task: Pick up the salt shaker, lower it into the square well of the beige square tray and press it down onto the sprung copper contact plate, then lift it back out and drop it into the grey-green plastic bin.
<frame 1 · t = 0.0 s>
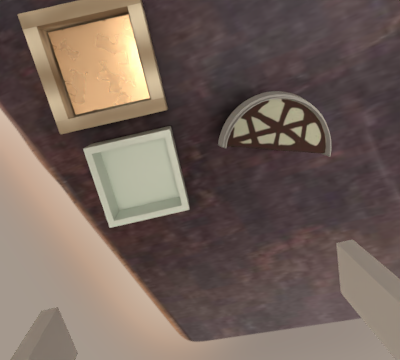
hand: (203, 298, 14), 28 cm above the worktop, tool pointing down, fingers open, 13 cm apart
beige square tray: (104, 67, 36), on the worktop
food container: (257, 115, 40), on the worktop
bin: (142, 172, 40), on the worktop
contact plate: (101, 66, 35), point 1 cm above the worktop, slide at 0.0 cm
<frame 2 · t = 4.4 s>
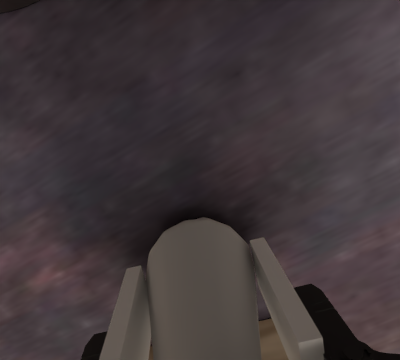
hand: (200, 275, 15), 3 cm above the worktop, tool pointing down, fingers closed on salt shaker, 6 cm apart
salt shaker: (197, 246, 18), on the worktop, touching gripper
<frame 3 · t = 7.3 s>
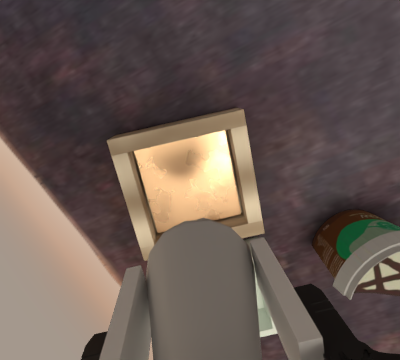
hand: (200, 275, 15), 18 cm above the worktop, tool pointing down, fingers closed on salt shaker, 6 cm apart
beige square tray: (189, 179, 32), on the worktop
food container: (352, 223, 36), on the worktop
salt shaker: (197, 246, 18), point 15 cm above the worktop, touching gripper
bin: (222, 283, 36), on the worktop
contact plate: (189, 183, 31), point 1 cm above the worktop, slide at 0.0 cm
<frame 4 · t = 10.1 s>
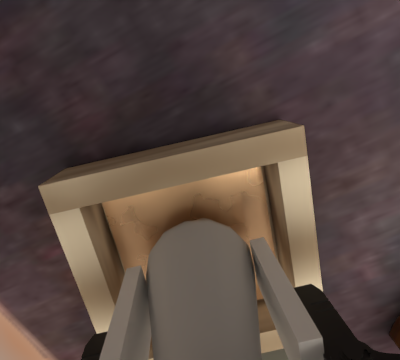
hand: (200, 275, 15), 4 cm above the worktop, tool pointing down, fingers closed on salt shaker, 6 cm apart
beige square tray: (196, 240, 19), on the worktop
salt shaker: (197, 247, 18), point 1 cm above the worktop, touching contact plate, gripper
contact plate: (197, 246, 18), point 1 cm above the worktop, slide at 0.4 cm, touching salt shaker
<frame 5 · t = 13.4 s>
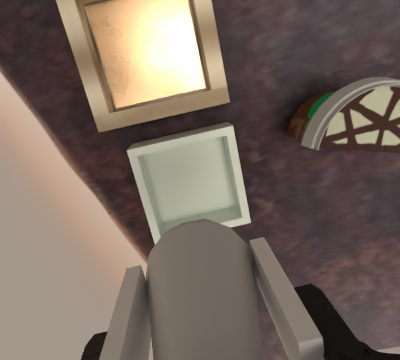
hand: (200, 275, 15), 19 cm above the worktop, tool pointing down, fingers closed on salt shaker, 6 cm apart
beige square tray: (149, 50, 30), on the worktop
food container: (330, 109, 33), on the worktop
salt shaker: (197, 247, 18), point 16 cm above the worktop, touching gripper
bin: (190, 177, 34), on the worktop
contact plate: (149, 49, 29), point 1 cm above the worktop, slide at 0.4 cm
when the fingers open (6 cm above the worktop, at t = 16.2 s): salt shaker drops 2 cm, resting on bin.
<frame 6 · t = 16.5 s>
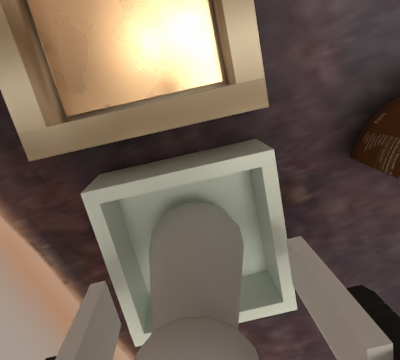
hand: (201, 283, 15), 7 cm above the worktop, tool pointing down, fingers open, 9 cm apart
beige square tray: (125, 16, 17), on the worktop
salt shaker: (196, 229, 21), resting on bin
bin: (195, 227, 21), on the worktop
contact plate: (123, 12, 16), point 1 cm above the worktop, slide at 0.4 cm
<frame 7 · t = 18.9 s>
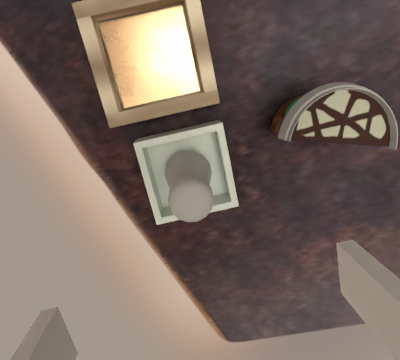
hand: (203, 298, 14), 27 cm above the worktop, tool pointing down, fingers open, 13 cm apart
beige square tray: (152, 59, 35), on the worktop
food container: (307, 109, 38), on the worktop
salt shaker: (187, 168, 39), resting on bin
bin: (187, 168, 39), on the worktop
contact plate: (152, 58, 35), point 1 cm above the worktop, slide at 0.4 cm
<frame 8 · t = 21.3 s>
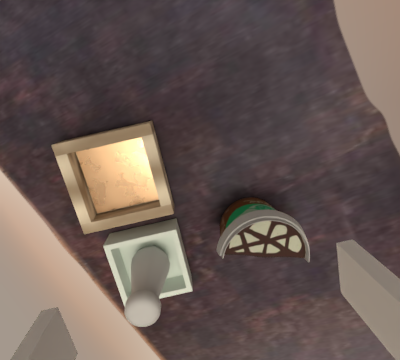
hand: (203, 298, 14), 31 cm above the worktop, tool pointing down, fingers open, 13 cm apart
beige square tray: (120, 174, 43), on the worktop
food container: (251, 208, 46), on the worktop
salt shaker: (152, 256, 47), resting on bin
bin: (151, 255, 47), on the worktop
contact plate: (119, 175, 42), point 1 cm above the worktop, slide at 0.4 cm
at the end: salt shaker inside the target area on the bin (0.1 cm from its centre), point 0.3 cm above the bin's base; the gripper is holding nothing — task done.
